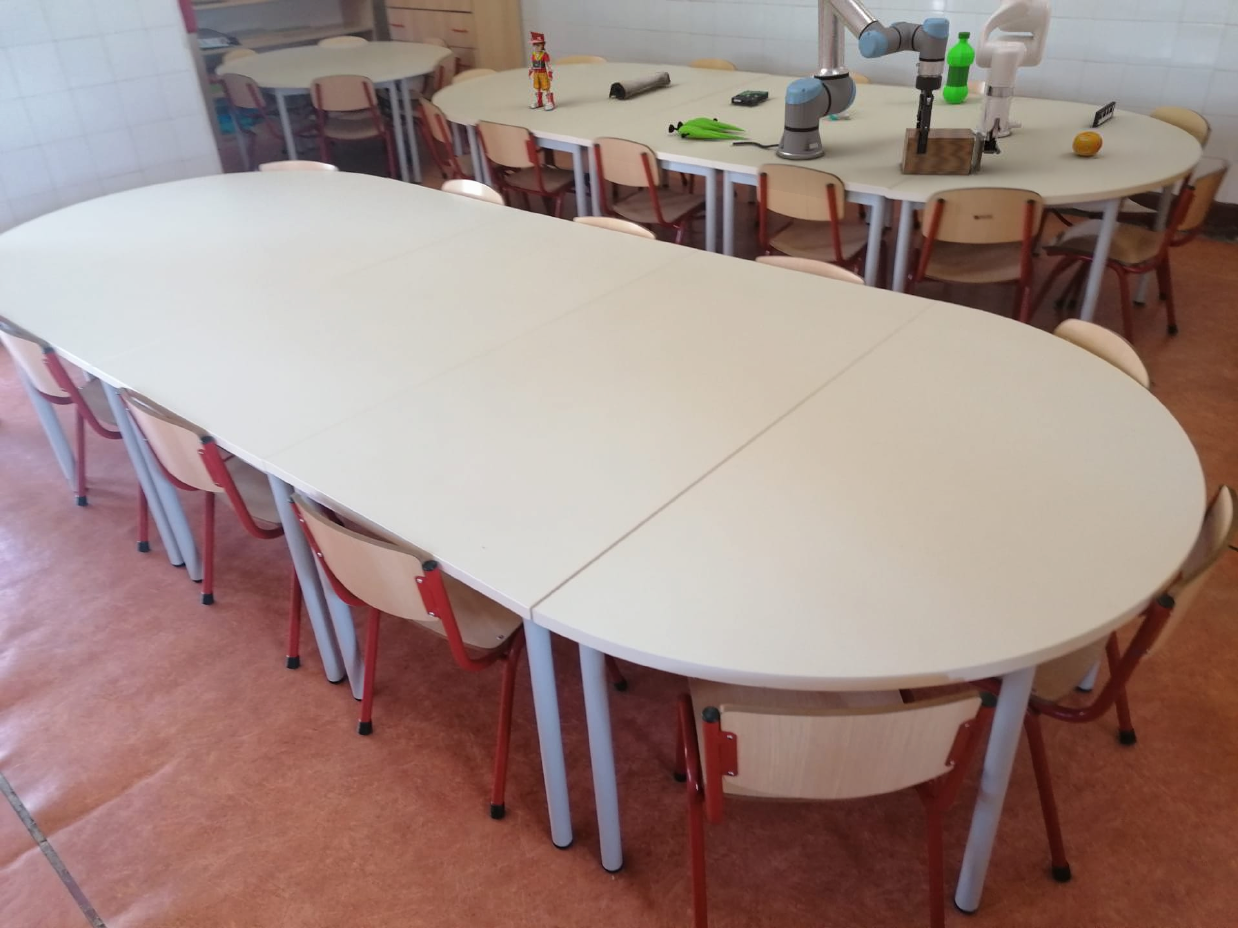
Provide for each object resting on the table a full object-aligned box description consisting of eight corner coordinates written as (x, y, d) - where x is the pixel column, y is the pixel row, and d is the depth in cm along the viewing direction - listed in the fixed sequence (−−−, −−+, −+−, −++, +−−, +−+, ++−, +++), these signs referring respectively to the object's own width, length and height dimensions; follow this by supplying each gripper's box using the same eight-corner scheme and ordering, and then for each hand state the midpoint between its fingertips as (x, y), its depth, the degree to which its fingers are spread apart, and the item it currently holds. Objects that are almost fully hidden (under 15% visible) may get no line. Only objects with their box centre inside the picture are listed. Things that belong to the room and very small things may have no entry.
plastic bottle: (973, 101, 354) (984, 32, 339) (955, 106, 349) (966, 36, 335) (952, 97, 361) (962, 29, 346) (934, 102, 356) (944, 33, 342)
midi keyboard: (1096, 127, 316) (1099, 112, 313) (1092, 126, 317) (1095, 112, 314) (1112, 116, 326) (1116, 101, 323) (1108, 115, 327) (1112, 101, 324)
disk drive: (753, 107, 365) (768, 98, 375) (754, 100, 363) (769, 91, 373) (730, 105, 370) (746, 96, 380) (730, 98, 368) (746, 89, 378)
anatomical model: (813, 89, 348) (838, 82, 348) (816, 116, 354) (841, 109, 353) (823, 98, 336) (849, 91, 335) (826, 126, 342) (852, 119, 341)
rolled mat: (651, 76, 408) (662, 61, 399) (662, 93, 408) (674, 79, 400) (605, 92, 391) (616, 77, 383) (617, 110, 391) (628, 95, 383)
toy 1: (525, 109, 381) (517, 32, 364) (534, 104, 388) (527, 28, 371) (550, 110, 377) (543, 32, 360) (559, 105, 384) (553, 28, 367)
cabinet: (964, 164, 290) (970, 128, 284) (968, 174, 281) (974, 138, 275) (901, 163, 294) (906, 128, 288) (903, 173, 285) (908, 137, 279)
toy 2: (657, 137, 330) (731, 151, 317) (658, 122, 327) (732, 136, 314) (693, 125, 350) (763, 137, 338) (694, 111, 347) (764, 123, 335)
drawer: (993, 161, 288) (999, 132, 282) (997, 171, 280) (1003, 140, 274) (916, 161, 292) (920, 132, 287) (918, 170, 284) (922, 140, 279)
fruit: (1068, 146, 288) (1086, 124, 285) (1065, 149, 295) (1083, 127, 292) (1091, 161, 286) (1109, 138, 283) (1087, 163, 294) (1105, 141, 291)
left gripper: (914, 67, 283) (905, 138, 295) (919, 83, 264) (909, 159, 276) (939, 66, 281) (929, 138, 294) (946, 83, 263) (935, 159, 275)
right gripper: (983, 86, 278) (973, 146, 288) (989, 97, 266) (978, 160, 276) (1009, 86, 277) (997, 146, 287) (1016, 97, 265) (1004, 160, 275)
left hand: (919, 148), depth 285 cm, fingers closed on cabinet, 11 cm apart
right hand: (988, 153), depth 282 cm, fingers closed
